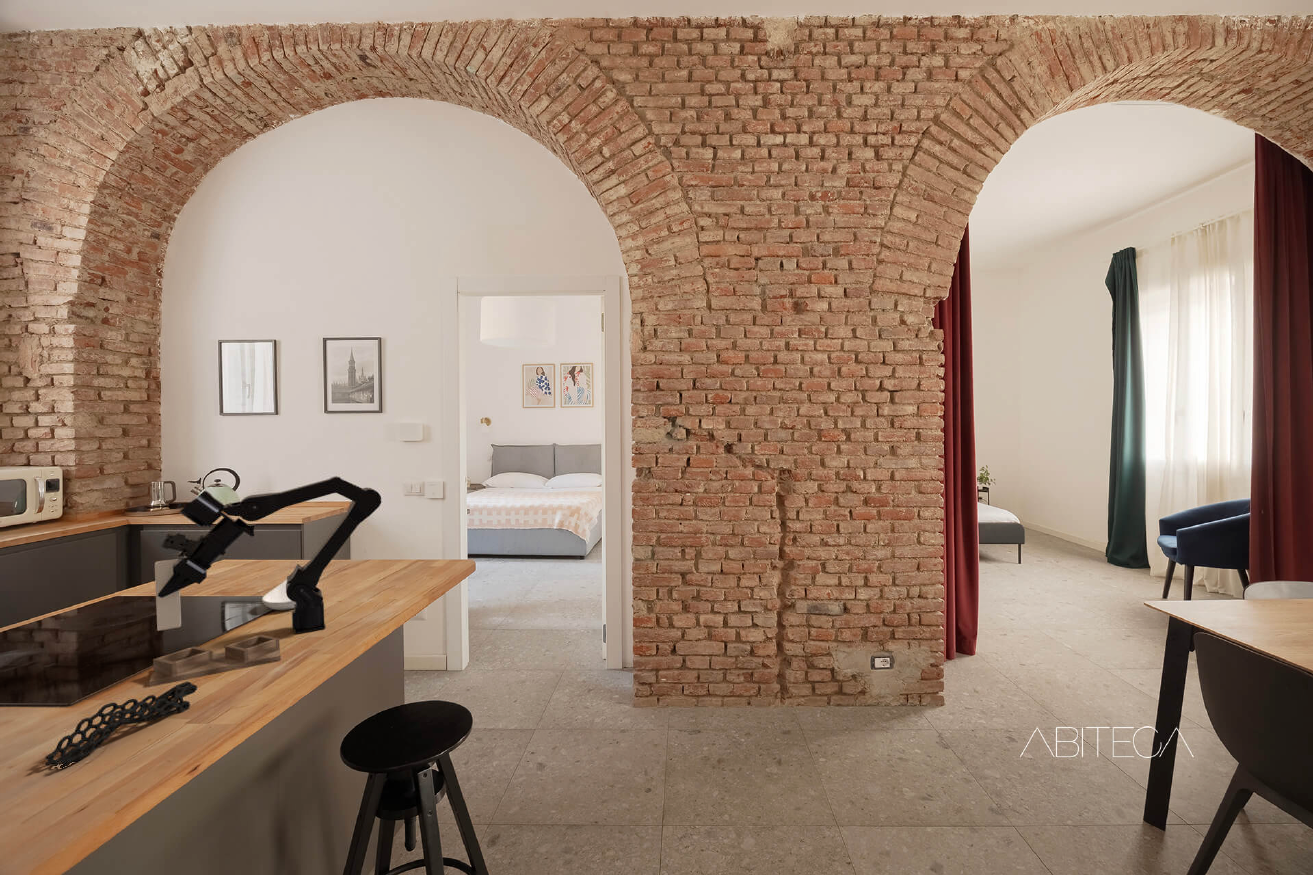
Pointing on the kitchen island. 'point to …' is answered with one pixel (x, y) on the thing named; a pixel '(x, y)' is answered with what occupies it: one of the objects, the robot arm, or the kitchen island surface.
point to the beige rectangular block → (166, 597)
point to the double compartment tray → (214, 659)
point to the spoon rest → (278, 598)
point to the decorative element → (120, 722)
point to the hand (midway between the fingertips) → (160, 594)
